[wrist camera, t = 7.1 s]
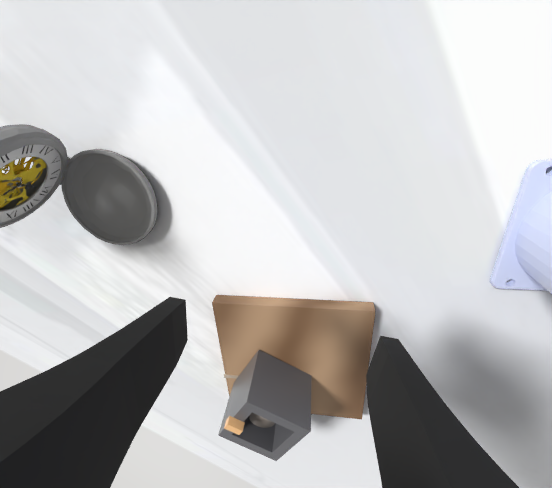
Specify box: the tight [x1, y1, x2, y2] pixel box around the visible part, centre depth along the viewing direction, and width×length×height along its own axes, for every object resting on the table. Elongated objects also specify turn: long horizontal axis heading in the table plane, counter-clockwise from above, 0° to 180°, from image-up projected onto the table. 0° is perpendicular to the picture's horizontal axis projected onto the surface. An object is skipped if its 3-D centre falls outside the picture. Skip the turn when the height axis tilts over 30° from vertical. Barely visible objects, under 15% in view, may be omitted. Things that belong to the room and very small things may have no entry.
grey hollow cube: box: [219, 350, 312, 461], centre depth 22 cm, size 5×5×5 cm
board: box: [212, 295, 375, 428], centre depth 22 cm, size 12×12×4 cm
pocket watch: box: [0, 125, 158, 245], centre depth 15 cm, size 8×8×10 cm
